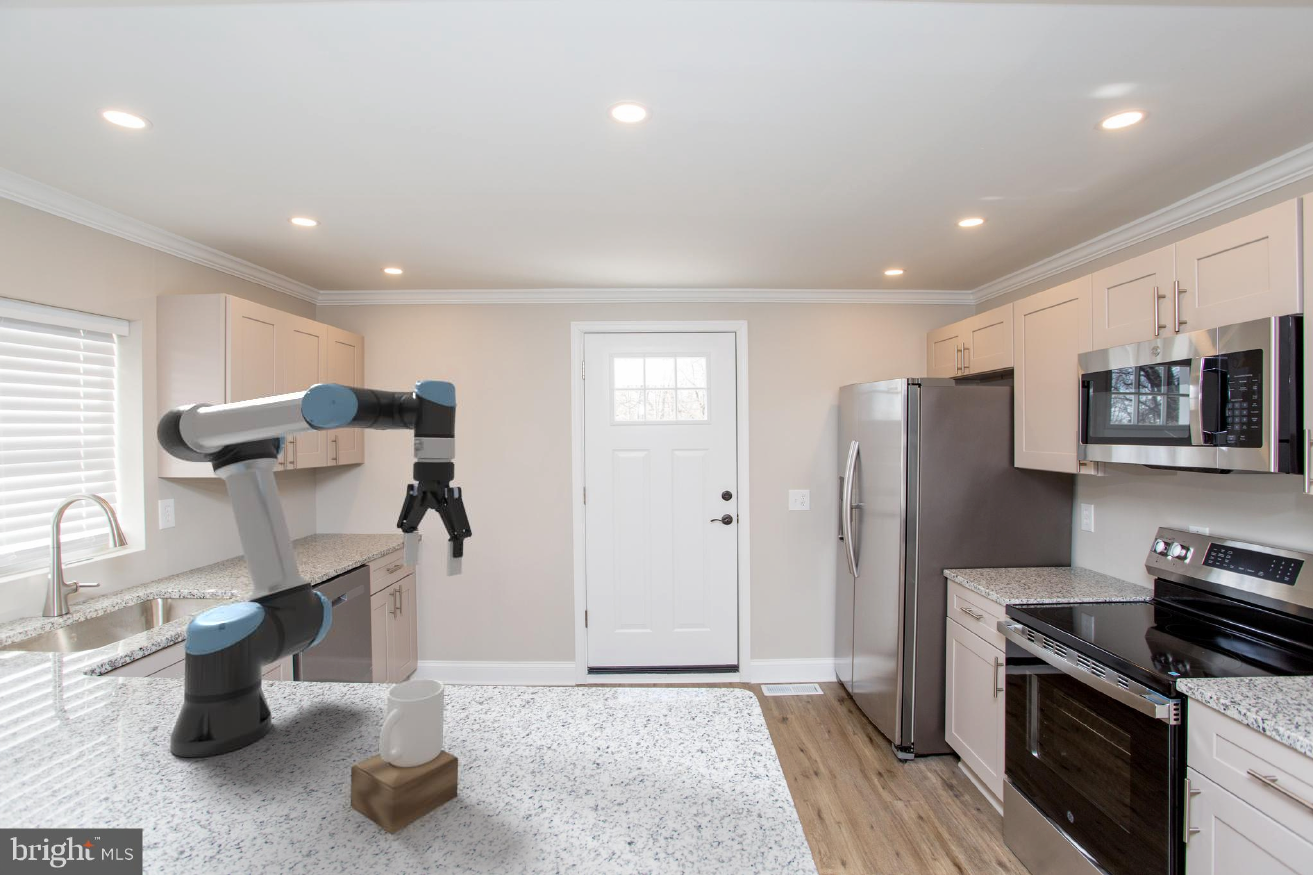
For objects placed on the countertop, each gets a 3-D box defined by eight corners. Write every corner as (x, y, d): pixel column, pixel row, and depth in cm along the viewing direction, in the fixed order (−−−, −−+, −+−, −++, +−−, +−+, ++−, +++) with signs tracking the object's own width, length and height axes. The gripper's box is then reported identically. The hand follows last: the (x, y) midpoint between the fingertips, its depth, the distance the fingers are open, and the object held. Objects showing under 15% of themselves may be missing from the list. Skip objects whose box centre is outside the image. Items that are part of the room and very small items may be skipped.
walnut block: (350, 806, 89) (351, 764, 89) (415, 773, 98) (416, 735, 98) (392, 834, 83) (393, 789, 83) (457, 796, 92) (458, 755, 92)
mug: (403, 787, 84) (405, 714, 84) (355, 777, 86) (356, 707, 86) (453, 745, 95) (454, 682, 95) (409, 738, 97) (411, 675, 98)
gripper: (379, 458, 118) (377, 564, 117) (459, 463, 104) (456, 583, 104) (413, 458, 124) (411, 558, 124) (492, 462, 110) (490, 575, 110)
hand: (431, 570), depth 114 cm, fingers open, 13 cm apart
